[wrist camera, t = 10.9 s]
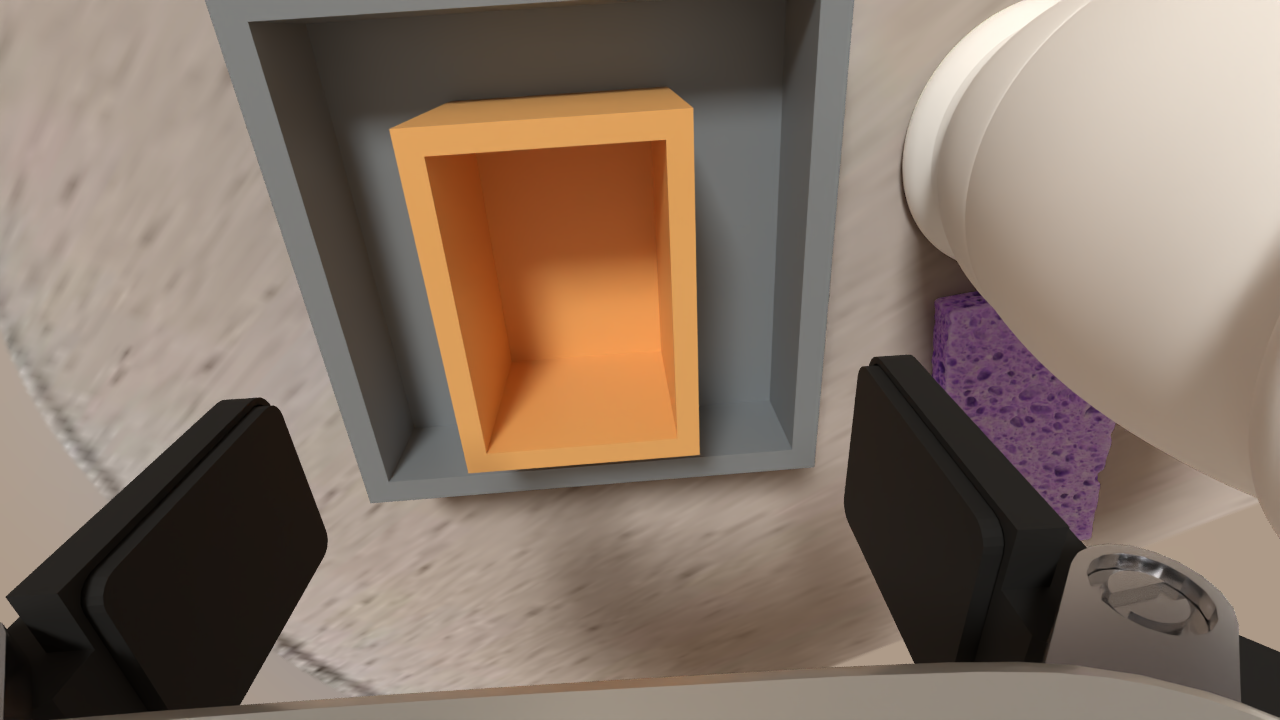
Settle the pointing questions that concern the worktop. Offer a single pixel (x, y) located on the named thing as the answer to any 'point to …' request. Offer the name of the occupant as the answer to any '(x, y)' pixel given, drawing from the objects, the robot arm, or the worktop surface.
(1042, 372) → the sponges
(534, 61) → the grey square tray
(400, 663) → the worktop surface
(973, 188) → the jar
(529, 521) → the worktop surface
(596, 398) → the small crate
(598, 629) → the worktop surface
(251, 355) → the worktop surface
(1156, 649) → the robot arm
